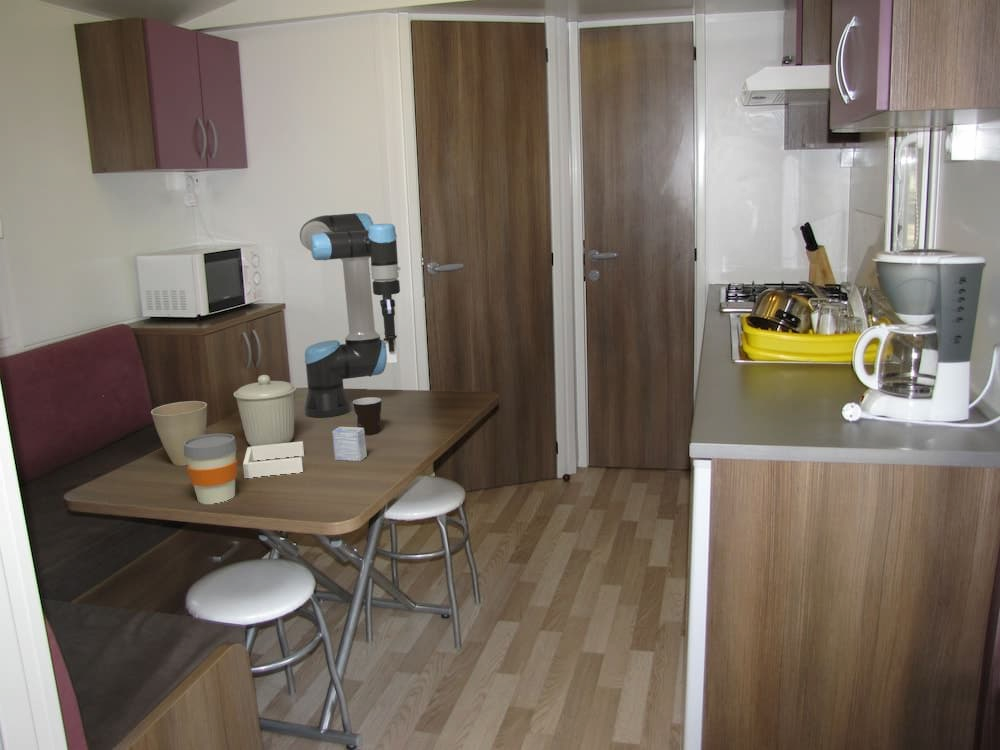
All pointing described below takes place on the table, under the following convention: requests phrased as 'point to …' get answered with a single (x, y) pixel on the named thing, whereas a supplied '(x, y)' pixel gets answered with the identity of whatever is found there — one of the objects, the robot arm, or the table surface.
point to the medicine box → (349, 443)
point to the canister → (267, 411)
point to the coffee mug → (368, 414)
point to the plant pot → (179, 426)
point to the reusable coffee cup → (212, 466)
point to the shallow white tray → (273, 466)
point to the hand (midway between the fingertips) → (392, 361)
